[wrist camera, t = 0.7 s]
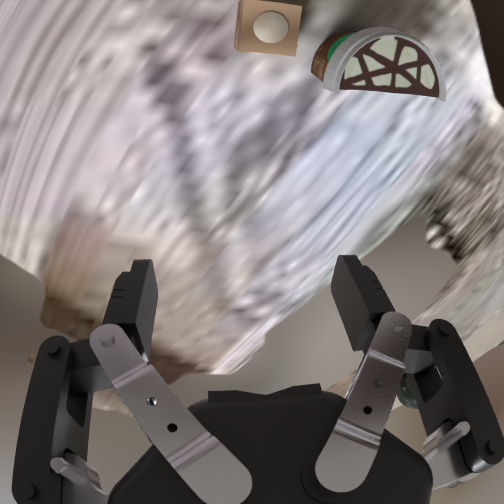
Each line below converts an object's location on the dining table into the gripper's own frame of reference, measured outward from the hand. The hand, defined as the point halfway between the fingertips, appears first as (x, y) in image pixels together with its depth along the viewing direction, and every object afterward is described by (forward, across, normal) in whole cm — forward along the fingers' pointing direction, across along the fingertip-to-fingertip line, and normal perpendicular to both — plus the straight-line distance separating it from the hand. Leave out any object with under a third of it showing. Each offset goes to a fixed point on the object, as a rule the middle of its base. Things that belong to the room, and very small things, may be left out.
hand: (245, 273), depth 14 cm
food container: (+24, -13, -10) cm, 29 cm away
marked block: (+24, -3, -12) cm, 26 cm away
